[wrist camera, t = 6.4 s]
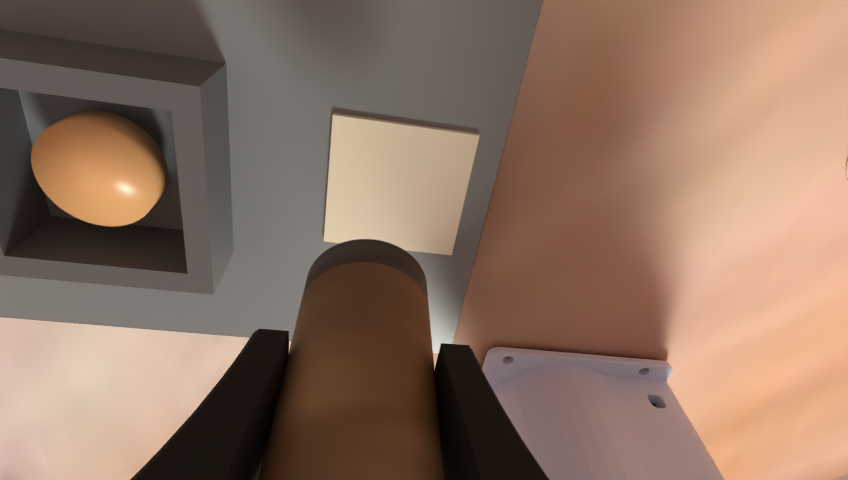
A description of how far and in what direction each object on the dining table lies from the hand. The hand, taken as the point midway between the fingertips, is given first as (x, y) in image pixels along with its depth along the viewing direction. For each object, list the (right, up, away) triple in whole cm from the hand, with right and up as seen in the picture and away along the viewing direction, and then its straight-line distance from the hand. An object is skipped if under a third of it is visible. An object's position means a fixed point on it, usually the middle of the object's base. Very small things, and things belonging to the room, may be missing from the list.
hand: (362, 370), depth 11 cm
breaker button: (-9, +5, +6) cm, 12 cm away
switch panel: (-6, +6, +8) cm, 11 cm away
